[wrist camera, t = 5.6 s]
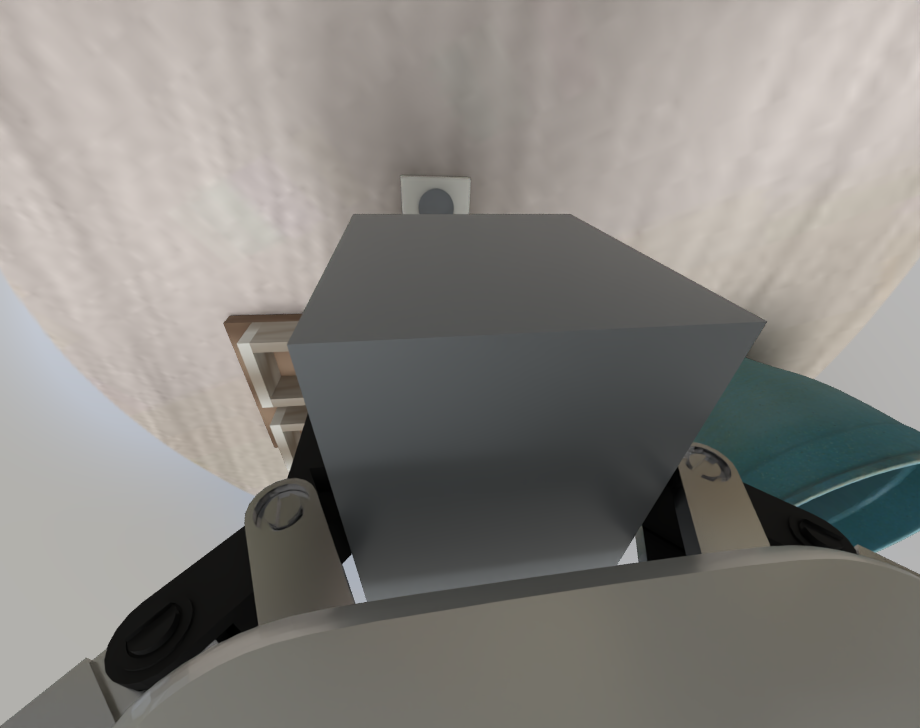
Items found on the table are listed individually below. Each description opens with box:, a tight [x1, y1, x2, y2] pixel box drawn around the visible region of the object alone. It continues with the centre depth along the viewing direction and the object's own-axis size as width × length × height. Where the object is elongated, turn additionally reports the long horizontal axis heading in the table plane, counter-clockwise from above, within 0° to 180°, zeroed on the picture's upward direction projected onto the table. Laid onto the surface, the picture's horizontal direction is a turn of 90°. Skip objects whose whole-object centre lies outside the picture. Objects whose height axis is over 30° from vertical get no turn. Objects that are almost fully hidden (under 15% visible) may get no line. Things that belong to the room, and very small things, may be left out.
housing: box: [287, 214, 767, 602], centre depth 10 cm, size 10×6×7 cm, turn 178°
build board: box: [223, 314, 308, 471], centre depth 30 cm, size 14×10×4 cm
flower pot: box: [693, 357, 920, 553], centre depth 32 cm, size 18×18×17 cm
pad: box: [400, 175, 471, 214], centre depth 23 cm, size 8×5×5 cm, turn 178°
